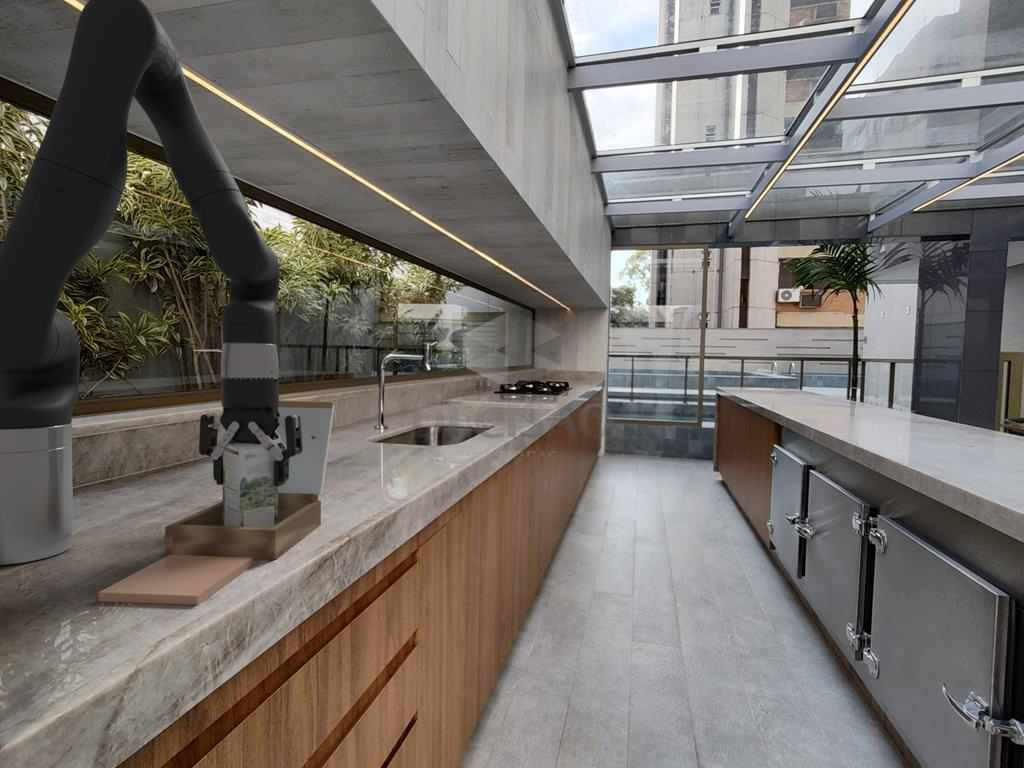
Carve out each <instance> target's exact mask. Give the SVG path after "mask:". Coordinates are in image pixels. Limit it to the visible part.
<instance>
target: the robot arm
mask: <svg viewBox="0 0 1024 768" xmlns="http://www.w3.org/2000/svg"><path fill="white" fill-rule="evenodd" d="M70 50H71V51H70V53H69V54H70V55H69V60H68V65H67V69H66V73H65V76H64V80H63V83H62V87H61V89H60V93H59V95H58V97H57V100H56V103H55V106H54V108H53V111H52V114H51V116H50V119H49V122H48V126H47V128H46V130H45V133H44V137H43V139H42V141H41V142H40V143H41V144H40V145H39V147H38V150H37V152H36V154H35V157H34V159H33V161H32V164H31V167H30V169H29V172H28V174H27V177H26V179H25V183H24V186H23V189H22V193H21V195H20V198H19V201H18V204H17V206H16V209H15V212H14V214H13V217H12V218H11V221H10V223H9V225H8V228H7V231H6V233H5V236H4V238H3V242H2V245H1V247H0V565H1V566H3V565H6V566H7V565H15V564H23V563H28V562H33V561H37V560H38V561H39V560H42V559H46V558H50V557H53V556H55V555H58V554H61V553H64V552H66V551H68V550H69V549H71V548H72V547H73V544H74V534H73V533H74V529H73V528H74V525H73V524H74V520H73V519H74V508H73V507H74V503H73V502H74V500H73V499H74V496H73V492H74V491H73V490H74V489H73V486H74V485H73V484H74V483H73V425H72V421H73V418H72V417H73V410H74V409H75V408H74V407H75V406H76V403H77V400H78V396H79V387H80V385H79V383H80V365H81V363H80V362H81V358H80V357H81V351H80V349H81V348H80V347H81V346H80V339H79V335H78V332H77V329H76V328H75V327H76V326H75V325H74V324H73V322H72V321H71V320H70V319H69V318H68V317H67V316H66V315H64V314H63V313H61V312H59V311H57V309H58V306H59V305H58V304H59V302H60V298H61V295H62V293H63V290H64V287H65V286H66V284H67V283H66V282H67V281H68V279H69V277H70V275H71V274H72V273H73V271H74V270H75V268H76V267H78V265H79V264H80V263H81V262H82V260H83V259H84V258H85V257H86V256H87V255H88V254H89V253H90V252H91V251H92V250H93V248H95V247H96V246H97V244H98V243H99V242H100V241H101V240H102V239H103V237H104V236H105V235H106V234H107V232H108V230H109V229H110V227H111V225H112V223H113V220H114V218H115V216H116V213H117V210H118V207H119V205H120V202H121V199H122V196H123V194H124V191H125V189H126V185H127V177H128V118H129V113H130V110H131V109H130V108H131V106H132V105H131V104H132V101H133V99H135V101H137V102H138V104H139V106H140V107H141V109H143V111H144V112H145V114H146V116H148V117H147V118H148V119H149V120H150V122H151V123H152V125H153V127H154V129H155V131H156V133H157V136H158V138H159V140H160V143H161V145H162V147H163V150H164V154H165V157H166V159H167V162H168V166H169V168H170V171H171V173H172V175H173V177H174V179H175V181H176V183H177V186H178V187H179V190H180V191H181V193H182V194H183V196H184V198H185V200H186V203H187V204H188V206H189V207H190V209H191V211H192V213H193V214H194V216H195V218H196V219H197V221H198V223H199V225H200V229H201V231H202V234H203V237H204V240H205V243H206V245H207V247H208V248H207V249H208V250H209V252H210V254H211V256H212V259H213V260H214V263H215V264H216V266H217V267H218V269H219V270H220V272H221V273H222V274H223V275H224V276H225V277H226V278H228V280H229V281H230V285H229V286H230V287H229V303H227V305H225V307H224V308H223V312H222V321H221V322H222V348H221V355H220V356H221V357H220V382H221V383H220V385H221V386H220V387H221V388H220V390H221V395H220V396H221V406H222V410H223V411H222V413H221V414H217V413H216V412H211V413H206V414H201V416H200V418H199V437H198V438H199V440H198V441H199V442H198V453H199V454H200V455H201V456H206V457H210V458H211V459H212V465H213V466H212V467H213V468H212V470H213V472H212V473H213V474H212V475H213V480H214V481H215V482H216V485H217V486H223V453H224V451H225V449H226V447H227V445H228V444H229V443H233V442H236V443H249V444H261V443H262V444H263V446H264V447H265V448H266V449H267V450H269V451H270V452H271V453H272V455H273V456H274V457H275V459H276V461H274V485H275V486H281V485H283V484H285V482H286V481H287V480H288V478H289V459H290V457H293V456H295V455H298V454H300V453H302V450H303V449H302V435H301V420H300V416H299V415H298V414H295V415H290V416H280V414H279V412H278V405H279V400H280V397H279V396H280V395H279V394H280V392H279V389H280V388H279V386H280V385H279V375H280V368H279V356H278V348H277V320H276V313H277V311H276V309H277V304H278V300H279V298H278V297H279V289H280V281H281V279H280V276H281V275H280V273H281V272H280V271H281V270H280V263H279V259H278V256H277V255H276V253H275V252H274V251H273V249H272V248H270V247H269V246H268V244H266V242H265V241H264V239H263V238H262V236H261V235H260V232H259V230H257V228H256V225H255V224H254V222H253V220H252V219H251V216H250V215H249V209H248V205H247V202H246V200H245V197H244V195H243V193H242V192H241V190H240V188H239V185H238V183H236V180H235V178H234V176H233V174H232V172H231V171H230V169H229V167H228V165H227V163H226V162H225V160H224V158H223V156H222V155H221V152H220V151H219V149H218V148H217V146H216V144H215V143H214V141H213V140H212V137H211V135H210V134H209V132H208V130H207V128H206V126H205V124H204V123H203V121H202V119H201V116H200V115H199V112H198V110H197V108H196V105H195V102H194V100H193V98H192V95H191V92H190V89H189V86H188V83H187V80H186V77H185V74H184V71H183V68H182V65H181V62H180V59H179V55H178V51H177V49H176V47H175V45H174V43H173V41H172V39H171V38H170V37H169V35H168V33H167V32H166V30H165V28H164V27H163V26H162V24H161V22H160V21H159V19H158V18H157V17H156V15H155V14H154V12H153V11H152V10H151V8H149V7H148V6H147V5H146V3H144V2H143V1H142V0H88V1H87V2H86V3H85V4H84V7H83V8H82V10H81V12H80V15H79V17H78V20H77V24H76V28H75V32H74V37H73V42H72V46H71V49H70ZM280 424H281V425H282V427H283V429H284V430H286V444H287V447H286V446H285V444H284V443H283V439H282V438H281V436H280V435H279V434H278V432H277V431H276V429H277V428H278V426H279V425H280ZM221 426H222V427H223V429H224V430H225V432H224V434H223V435H222V437H221V438H220V439H219V440H218V434H219V433H218V432H219V428H220V427H221ZM278 445H279V447H278Z"/></svg>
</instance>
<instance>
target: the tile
mask: <svg viewBox="0 0 1024 768" xmlns="http://www.w3.org/2000/svg"><path fill="white" fill-rule="evenodd" d="M253 560H254V559H253V558H247V557H217V556H187V555H168V556H164V557H162V558H161V559H159V560H157V561H155V562H153V563H152V564H151V563H150V564H149V565H147V566H146V567H143V568H142V569H140V570H138V571H136V572H134V573H132V574H130V575H128V576H127V577H125V578H123V579H120V580H119V581H118V582H115V583H113V584H112V585H110V586H108V587H106V588H104V589H102V590H100V591H98V602H105V603H106V602H110V603H131V604H132V603H133V604H135V603H136V604H137V603H139V604H161V605H164V604H165V605H185V606H190V605H191V606H198V605H200V604H201V603H203V602H204V601H206V599H208V598H210V597H211V596H212V595H214V594H215V593H216V592H218V591H220V590H221V589H222V588H224V587H225V586H226V585H227V584H229V583H231V582H232V581H233V580H235V579H236V578H238V576H240V575H241V574H243V573H244V572H245V571H247V570H248V569H249V568H251V567H253Z"/></svg>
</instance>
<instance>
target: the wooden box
mask: <svg viewBox="0 0 1024 768" xmlns="http://www.w3.org/2000/svg"><path fill="white" fill-rule="evenodd" d="M311 437H312V439H314V438H315V436H311ZM222 510H223V500H222V501H220V502H217V503H215V504H213V505H211V506H209V507H207V508H204V509H202V510H200V511H198V512H195V513H193V514H191V515H189V516H186V517H184V518H182V519H179V520H177V521H175V522H172V523H171V524H168V525H167V526H165V527H164V532H165V533H164V537H165V539H164V543H165V544H164V545H165V546H164V548H165V549H164V555H165V556H164V557H166V556H168V555H187V556H217V557H247V558H253V560H263V561H264V560H267V561H268V560H269V561H270V560H271V561H276V560H277V559H278V558H280V557H281V556H283V555H284V554H285V553H287V551H289V550H290V549H292V548H293V547H295V546H296V545H297V544H298V543H299V542H301V541H302V540H303V539H304V538H306V537H307V536H309V535H310V534H311V533H313V531H315V530H316V529H318V528H319V527H320V526H321V524H322V522H321V521H322V520H321V519H322V501H321V500H319V495H315V494H288V493H278V524H277V525H275V526H274V527H272V528H265V527H234V526H222Z"/></svg>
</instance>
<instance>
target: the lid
mask: <svg viewBox="0 0 1024 768" xmlns="http://www.w3.org/2000/svg"><path fill="white" fill-rule="evenodd" d="M335 409H336V401H331V400H330V401H326V400H325V401H321V400H320V401H319V400H280V399H279V405H278V412H279V414H280V416H290V415H295V414H298V415H299V416H300V420H301V435H302V449H303V450H302V453H300V454H298V455H295V456H293V457H290V459H289V478H288V480H287V481H286V482H285V484H283V485H281V486H278V493H288V494H315V495H318V496H320V495H323V491H324V489H323V488H324V481H325V476H326V475H325V474H326V470H327V464H328V457H329V456H328V455H329V454H328V453H329V448H330V441H331V434H332V433H331V432H332V426H333V420H334V412H335ZM276 431H277V432H278V434H279V435H280V436H281V438H282V439H283V443H284V444H285V446H286V447H287V444H286V430H284V429H283V427H282V425H281V424H280V425H279V426H278V428H277V429H276ZM311 436H315V438H314V439H312V437H311Z"/></svg>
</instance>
